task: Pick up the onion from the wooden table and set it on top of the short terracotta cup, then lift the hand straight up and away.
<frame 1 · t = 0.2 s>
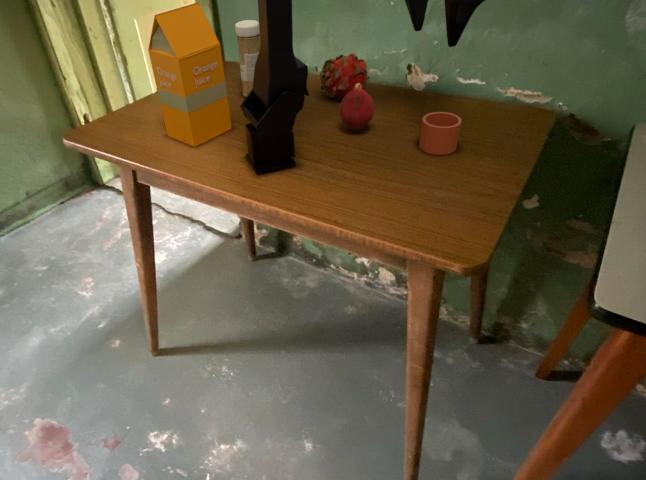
hand: (434, 38, 75), 14 cm above the table, tool pointing down, fingers open, 9 cm apart
sprinkles bottle: (254, 95, 99), on the table
onion: (355, 131, 85), on the table
dragon fruit: (344, 96, 96), on the table
orange juice: (199, 133, 88), on the table
cup: (437, 146, 78), on the table
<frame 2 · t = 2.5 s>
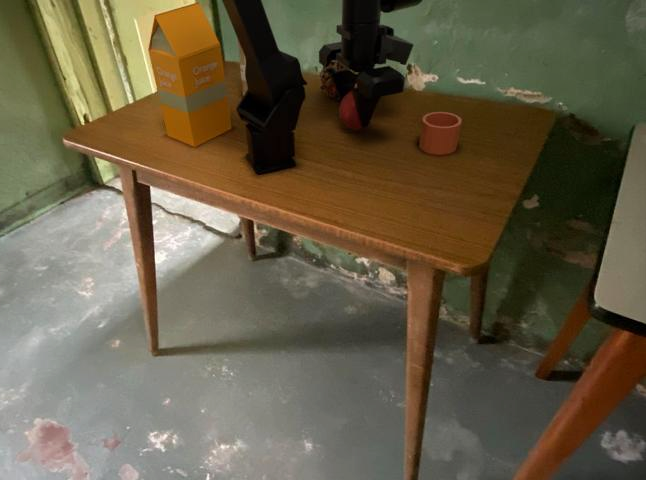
hand: (356, 119, 83), 2 cm above the table, tool pointing down, fingers closed on onion, 6 cm apart
onion: (355, 131, 85), on the table, touching gripper
everything else where it was.
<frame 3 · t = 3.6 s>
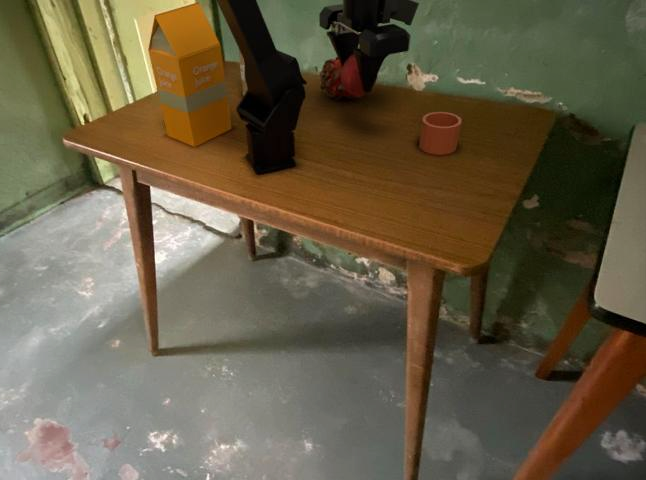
hand: (358, 85, 79), 8 cm above the table, tool pointing down, fingers closed on onion, 6 cm apart
onion: (358, 98, 81), point 6 cm above the table, touching gripper
everything else where it was.
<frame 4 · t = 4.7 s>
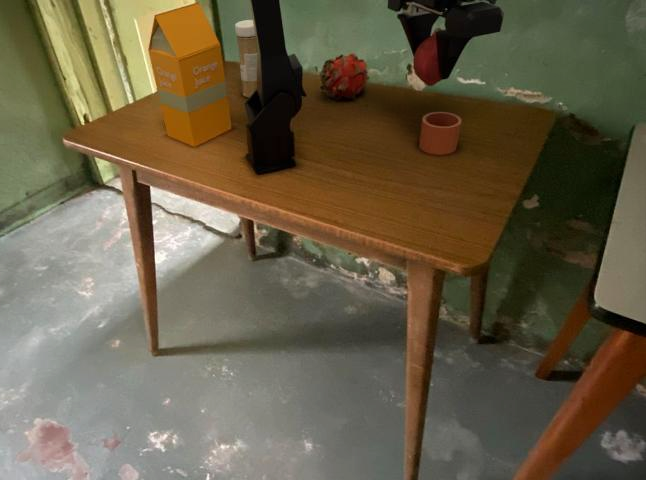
hand: (432, 72, 72), 11 cm above the table, tool pointing down, fingers closed on onion, 6 cm apart
onion: (430, 87, 74), point 9 cm above the table, touching gripper
everything else where it was.
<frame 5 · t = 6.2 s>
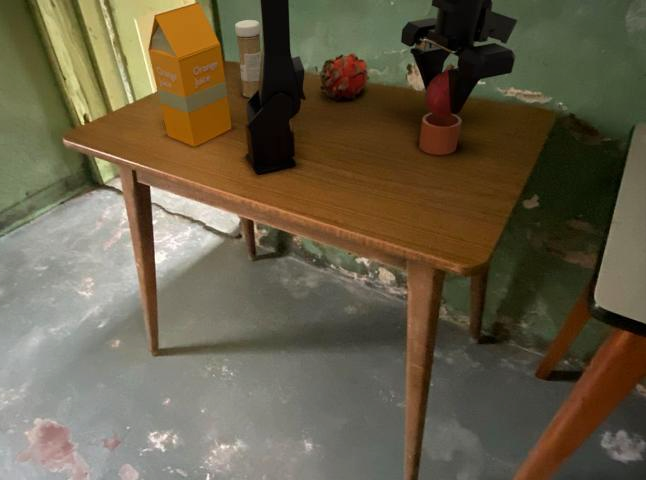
hand: (443, 106, 74), 7 cm above the table, tool pointing down, fingers closed on onion, 6 cm apart
onion: (441, 119, 76), point 4 cm above the table, touching gripper
everything else where it was.
when the fingers open (5 cm above the table, at t = 7.1 s): onion stays where it is, resting on cup.
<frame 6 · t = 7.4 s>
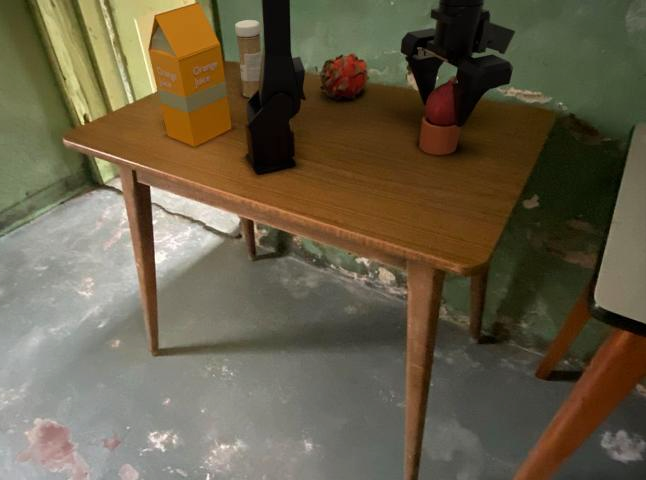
hand: (442, 115, 75), 5 cm above the table, tool pointing down, fingers open, 8 cm apart
onion: (438, 130, 77), point 3 cm above the table, touching cup
everything else where it was.
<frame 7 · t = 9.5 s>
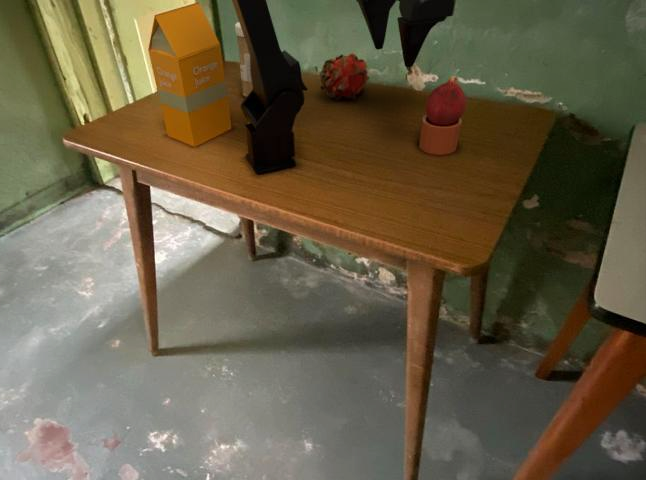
hand: (393, 57, 74), 13 cm above the table, tool pointing down, fingers open, 9 cm apart
nothing on the table moved.
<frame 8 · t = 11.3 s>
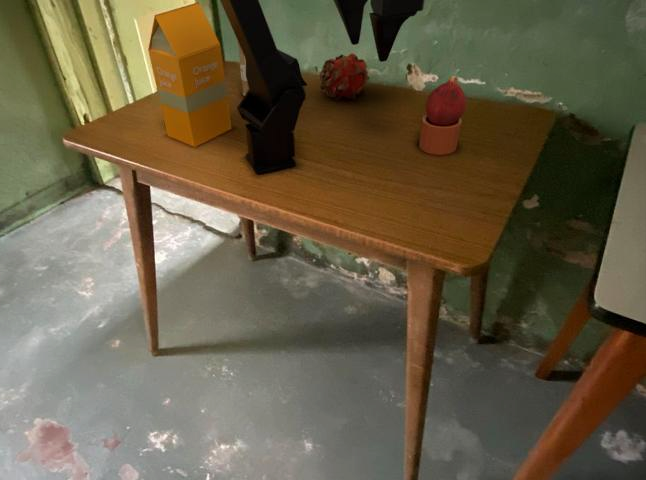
hand: (368, 52, 75), 13 cm above the table, tool pointing down, fingers open, 9 cm apart
nothing on the table moved.
at the end: onion 0.3 cm off-centre in the cup, point 2.8 cm above the cup's base; onion touching cup; the gripper is holding nothing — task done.
